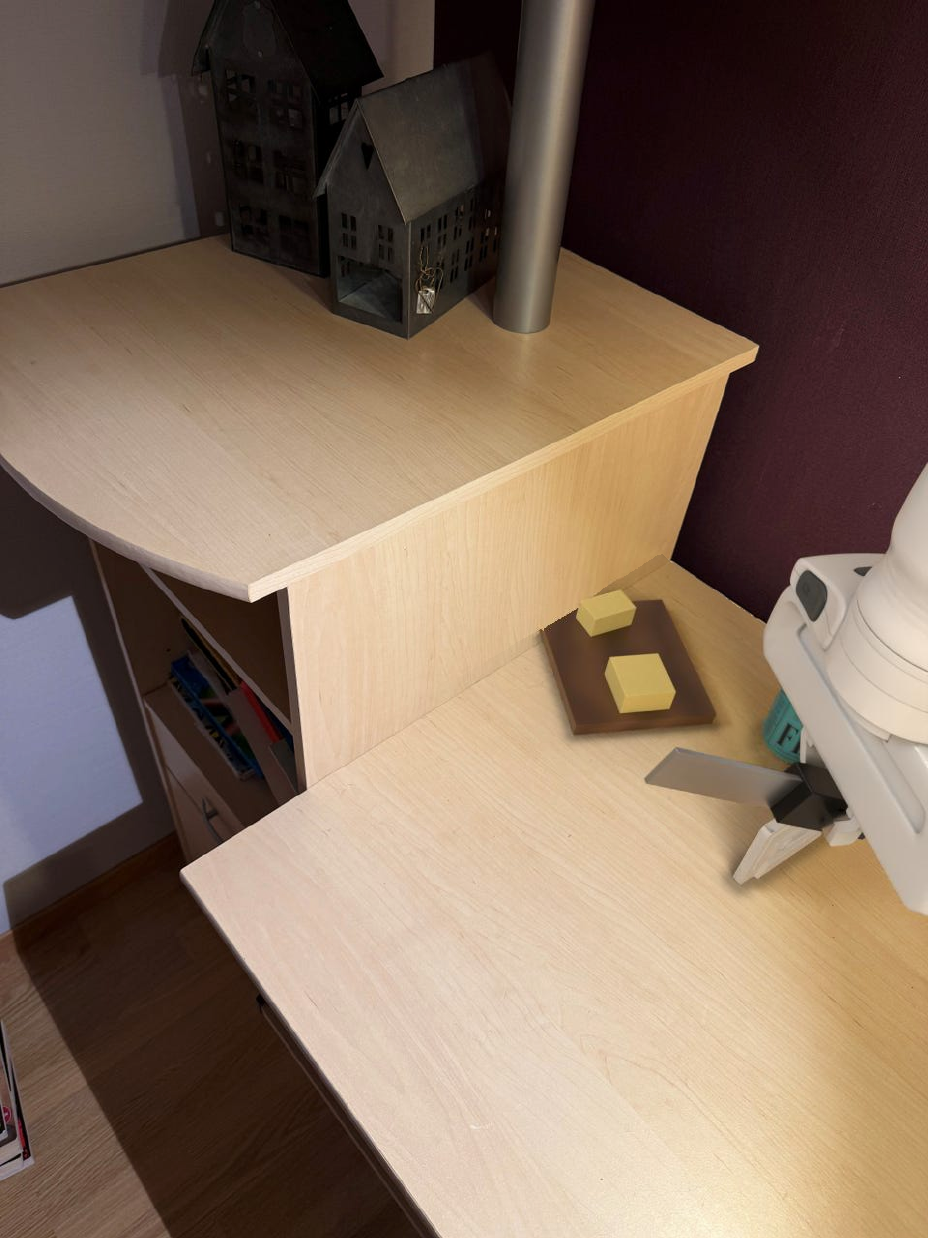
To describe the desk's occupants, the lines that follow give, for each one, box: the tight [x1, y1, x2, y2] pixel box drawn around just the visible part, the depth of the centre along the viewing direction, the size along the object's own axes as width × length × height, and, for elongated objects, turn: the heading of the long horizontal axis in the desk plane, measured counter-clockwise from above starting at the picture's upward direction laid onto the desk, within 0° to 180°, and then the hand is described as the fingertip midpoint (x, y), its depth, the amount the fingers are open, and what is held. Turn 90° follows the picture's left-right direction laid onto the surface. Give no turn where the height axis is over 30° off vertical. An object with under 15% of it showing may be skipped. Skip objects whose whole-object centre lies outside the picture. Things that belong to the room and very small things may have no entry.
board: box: [538, 599, 717, 736], centre depth 91 cm, size 14×16×2 cm
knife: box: [643, 746, 866, 841], centre depth 55 cm, size 18×2×3 cm, turn 100°
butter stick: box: [605, 653, 676, 713], centre depth 87 cm, size 5×5×2 cm
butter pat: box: [576, 588, 636, 637], centre depth 93 cm, size 5×3×2 cm, turn 116°
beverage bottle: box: [761, 687, 803, 765], centre depth 79 cm, size 6×7×20 cm
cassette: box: [732, 818, 823, 886], centre depth 75 cm, size 12×2×8 cm, turn 124°
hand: (820, 809), depth 57 cm, fingers closed on knife, 2 cm apart
